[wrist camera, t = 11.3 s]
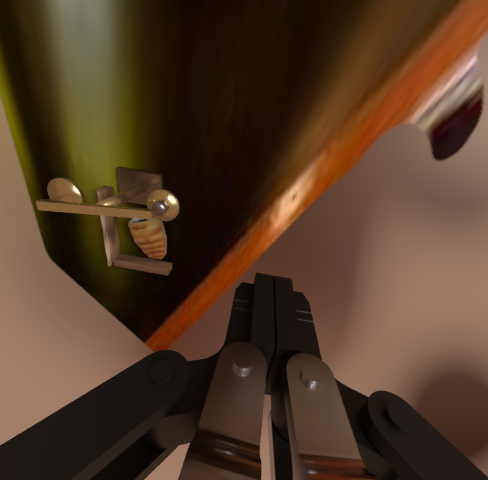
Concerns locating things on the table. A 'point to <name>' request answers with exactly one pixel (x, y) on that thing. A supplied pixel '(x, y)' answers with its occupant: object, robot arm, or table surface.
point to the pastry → (149, 236)
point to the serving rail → (113, 244)
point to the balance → (116, 197)
